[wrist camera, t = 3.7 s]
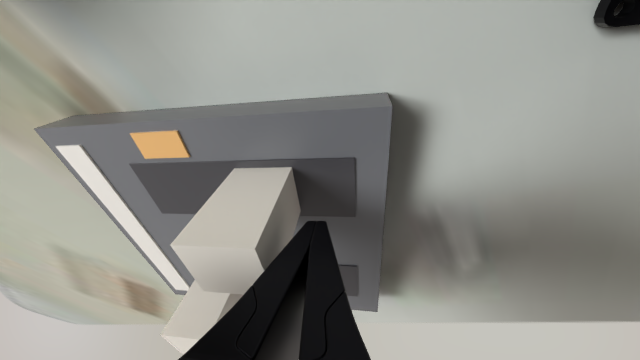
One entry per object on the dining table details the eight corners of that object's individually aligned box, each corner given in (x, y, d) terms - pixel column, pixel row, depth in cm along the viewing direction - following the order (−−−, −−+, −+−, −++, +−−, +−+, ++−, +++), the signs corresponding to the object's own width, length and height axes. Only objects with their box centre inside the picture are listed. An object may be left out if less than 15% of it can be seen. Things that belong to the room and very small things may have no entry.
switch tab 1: (291, 167, 11) (255, 248, 7) (300, 210, 12) (274, 297, 9) (234, 168, 11) (170, 244, 7) (249, 210, 13) (203, 291, 9)
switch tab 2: (243, 263, 16) (207, 340, 12) (254, 285, 18) (225, 360, 14) (206, 261, 17) (160, 334, 13) (219, 283, 18) (182, 354, 14)
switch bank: (387, 92, 10) (392, 106, 9) (375, 287, 19) (377, 313, 18) (72, 115, 13) (31, 129, 12) (188, 274, 22) (174, 295, 21)
